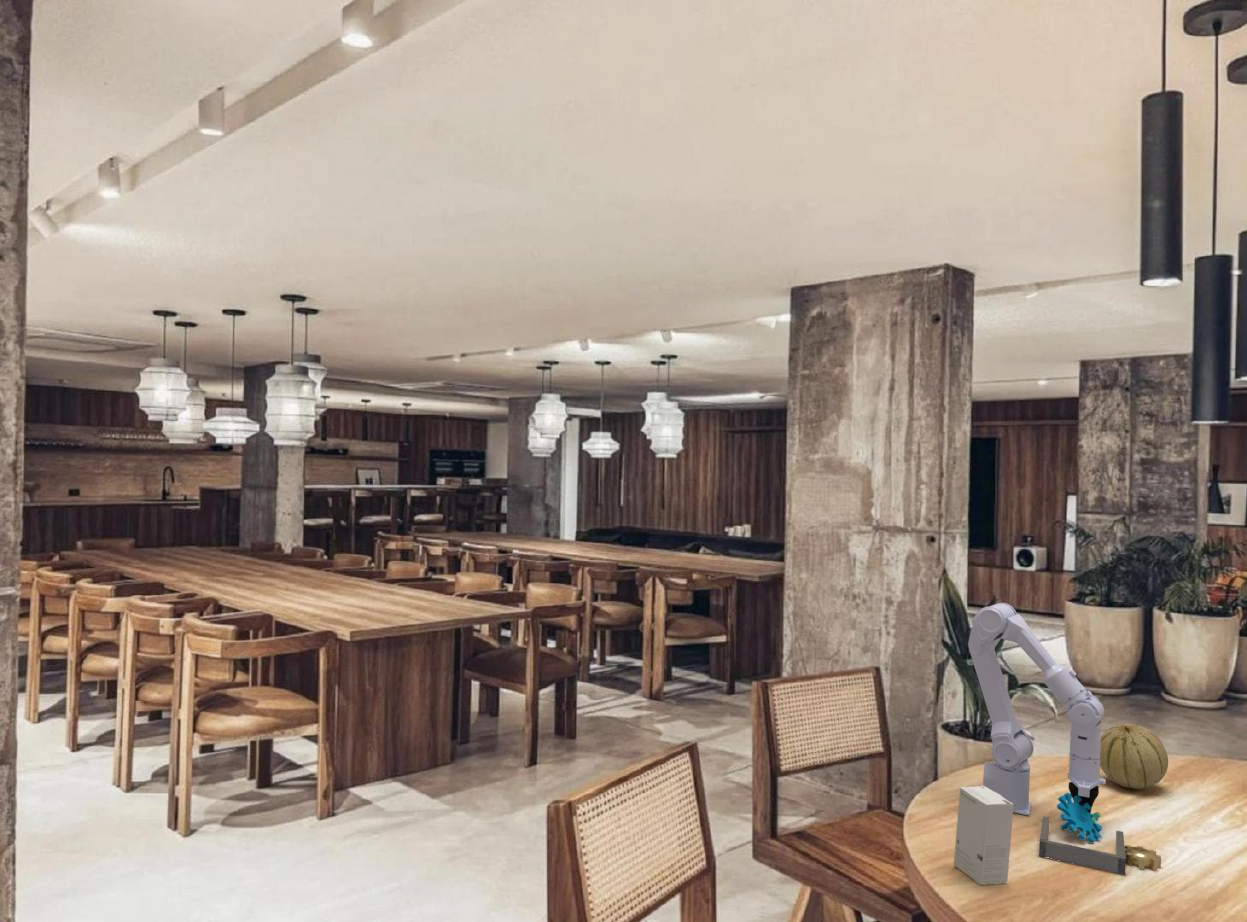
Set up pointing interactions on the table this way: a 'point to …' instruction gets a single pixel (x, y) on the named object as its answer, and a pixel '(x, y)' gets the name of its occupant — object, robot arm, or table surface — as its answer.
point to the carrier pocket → (1098, 854)
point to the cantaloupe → (1133, 756)
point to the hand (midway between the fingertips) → (1082, 820)
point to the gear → (1079, 818)
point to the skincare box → (983, 835)
